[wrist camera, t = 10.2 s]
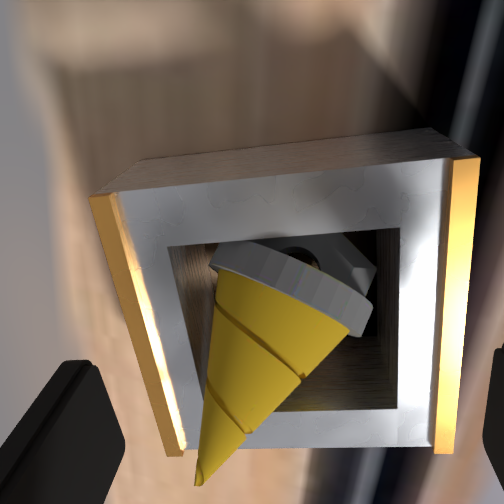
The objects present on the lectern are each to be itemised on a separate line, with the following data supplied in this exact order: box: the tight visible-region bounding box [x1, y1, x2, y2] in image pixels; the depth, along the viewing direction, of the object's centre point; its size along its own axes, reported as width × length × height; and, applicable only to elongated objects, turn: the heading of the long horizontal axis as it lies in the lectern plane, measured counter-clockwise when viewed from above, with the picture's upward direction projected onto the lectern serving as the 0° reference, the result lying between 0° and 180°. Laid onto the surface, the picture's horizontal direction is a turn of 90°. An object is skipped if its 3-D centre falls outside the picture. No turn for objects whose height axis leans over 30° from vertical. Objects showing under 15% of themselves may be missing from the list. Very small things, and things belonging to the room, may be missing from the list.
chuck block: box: [88, 127, 480, 457], centre depth 15 cm, size 10×10×4 cm
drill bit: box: [194, 232, 377, 486], centre depth 14 cm, size 5×5×10 cm
